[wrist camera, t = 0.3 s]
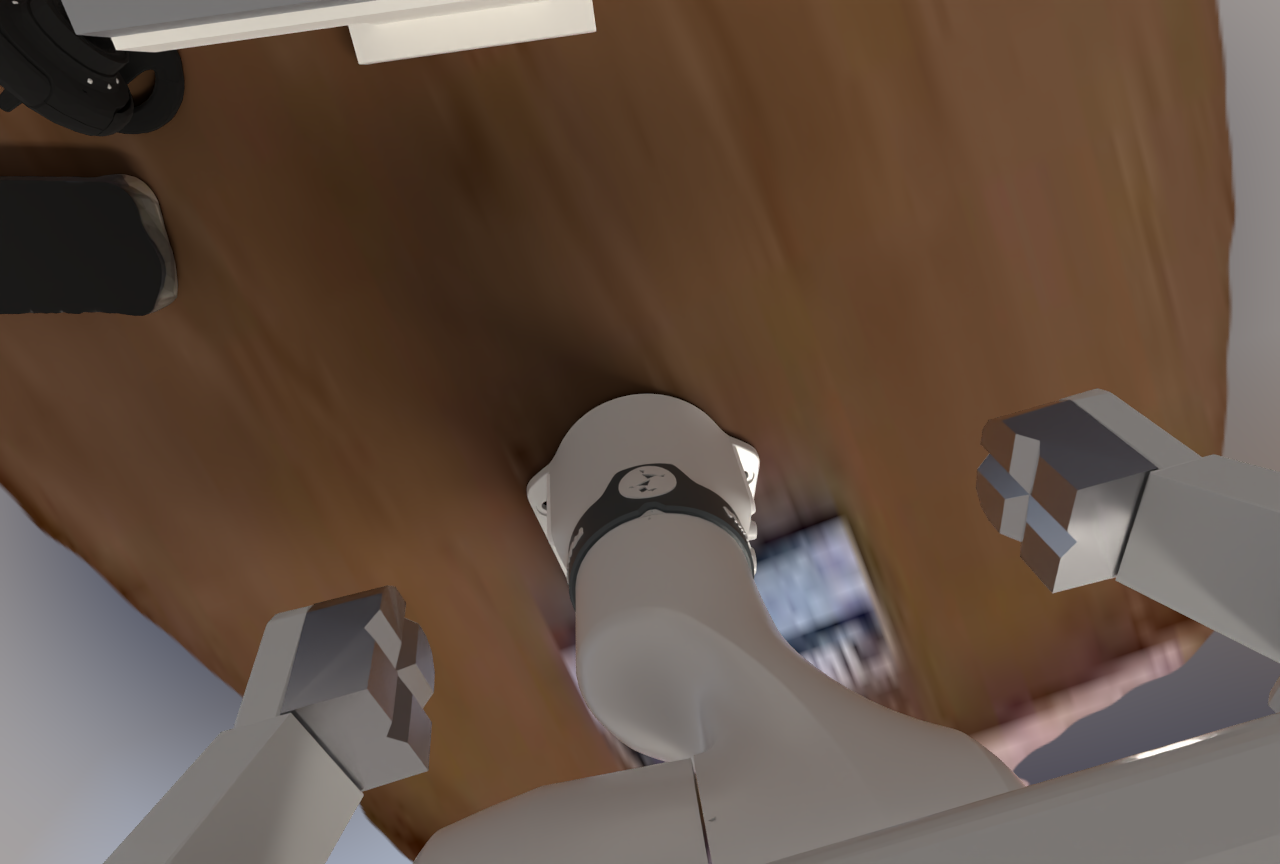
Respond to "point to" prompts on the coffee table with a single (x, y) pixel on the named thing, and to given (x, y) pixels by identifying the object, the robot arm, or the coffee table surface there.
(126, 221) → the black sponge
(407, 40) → the tester stand
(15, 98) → the webcam
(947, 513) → the coffee table surface
